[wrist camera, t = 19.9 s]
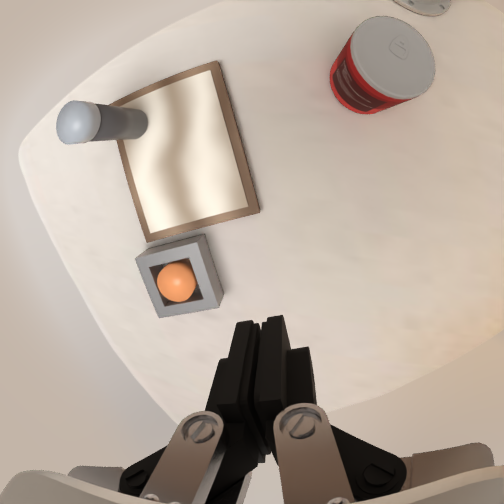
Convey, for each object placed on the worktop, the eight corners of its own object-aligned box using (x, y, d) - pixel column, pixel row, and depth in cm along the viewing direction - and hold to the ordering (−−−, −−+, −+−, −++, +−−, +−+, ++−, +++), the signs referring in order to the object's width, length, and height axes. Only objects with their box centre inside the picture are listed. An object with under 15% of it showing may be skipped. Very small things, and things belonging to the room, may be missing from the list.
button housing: (204, 233, 34) (196, 242, 30) (223, 294, 36) (218, 307, 33) (146, 249, 35) (134, 258, 32) (167, 304, 37) (158, 318, 34)
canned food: (393, 64, 25) (436, 34, 15) (386, 123, 28) (433, 112, 18) (332, 46, 26) (355, 3, 15) (323, 106, 28) (347, 81, 18)
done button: (193, 253, 34) (186, 262, 31) (204, 287, 35) (198, 298, 32) (161, 261, 34) (151, 270, 32) (173, 293, 36) (165, 304, 33)
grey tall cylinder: (148, 105, 28) (86, 95, 17) (149, 137, 29) (86, 140, 19) (120, 111, 28) (56, 106, 18) (121, 142, 30) (56, 147, 19)
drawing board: (219, 63, 27) (216, 59, 26) (260, 210, 32) (259, 213, 31) (113, 106, 29) (107, 104, 28) (150, 240, 34) (146, 243, 33)
